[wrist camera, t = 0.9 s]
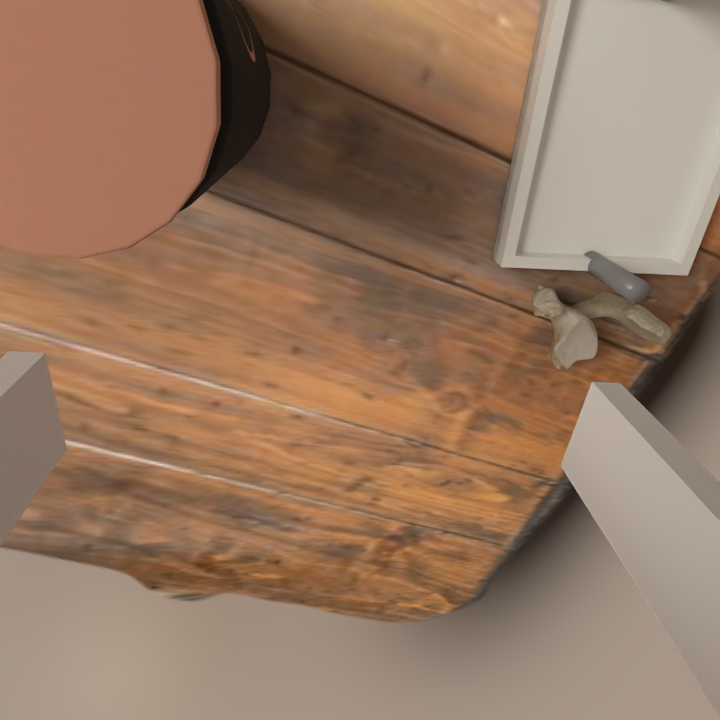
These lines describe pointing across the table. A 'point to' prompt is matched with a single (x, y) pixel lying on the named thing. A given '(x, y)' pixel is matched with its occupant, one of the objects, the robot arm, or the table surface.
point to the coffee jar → (120, 116)
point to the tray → (616, 141)
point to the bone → (591, 323)
